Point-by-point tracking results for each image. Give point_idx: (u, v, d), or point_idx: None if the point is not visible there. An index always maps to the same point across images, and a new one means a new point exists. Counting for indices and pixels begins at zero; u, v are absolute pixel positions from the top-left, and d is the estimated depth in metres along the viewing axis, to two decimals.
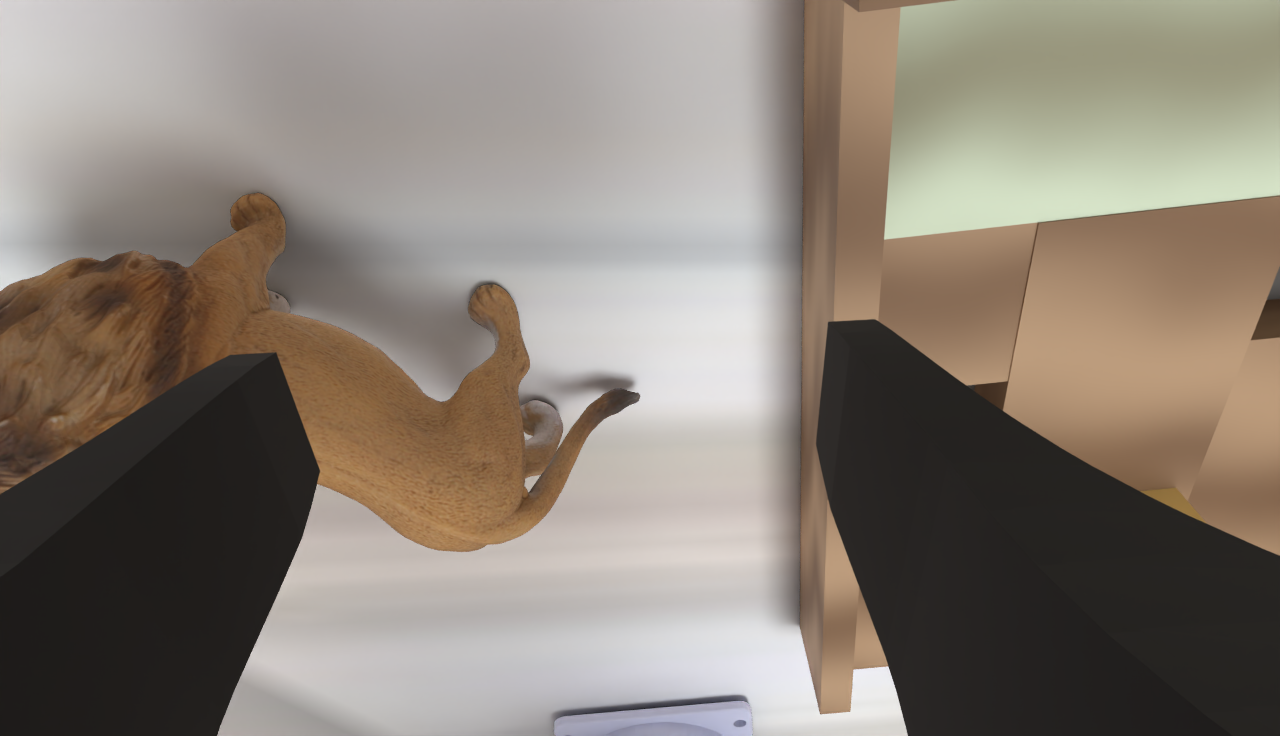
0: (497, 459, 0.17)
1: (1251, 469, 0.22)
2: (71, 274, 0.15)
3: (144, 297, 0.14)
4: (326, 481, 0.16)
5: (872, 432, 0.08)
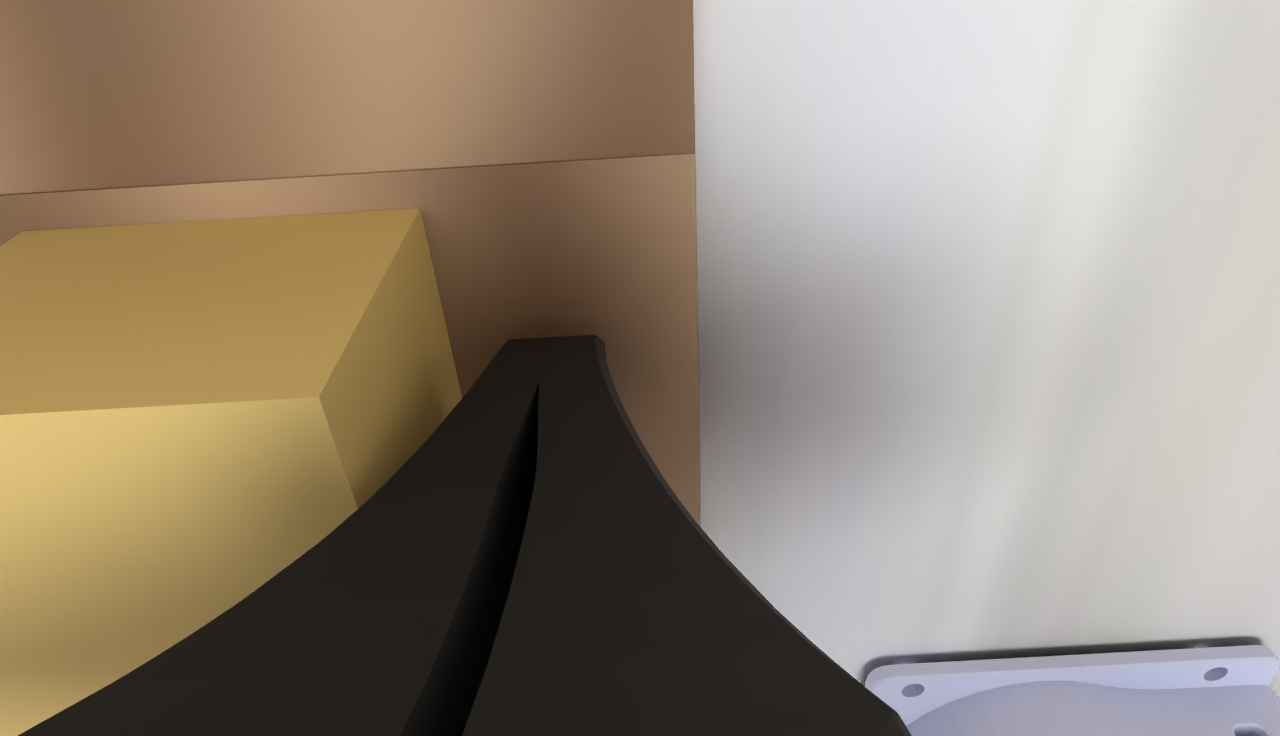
0: None
1: None
2: None
3: None
4: None
5: None
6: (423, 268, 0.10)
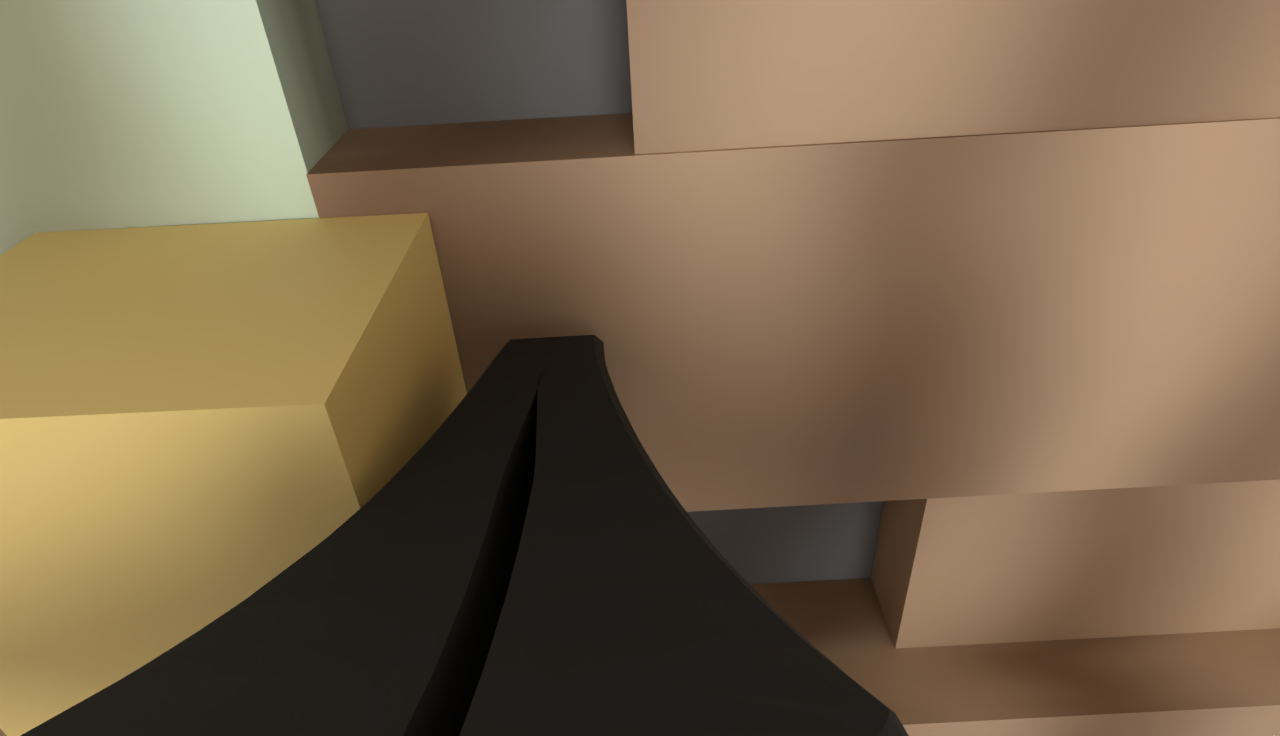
0: None
1: None
2: None
3: None
4: None
5: None
6: (430, 272, 0.10)
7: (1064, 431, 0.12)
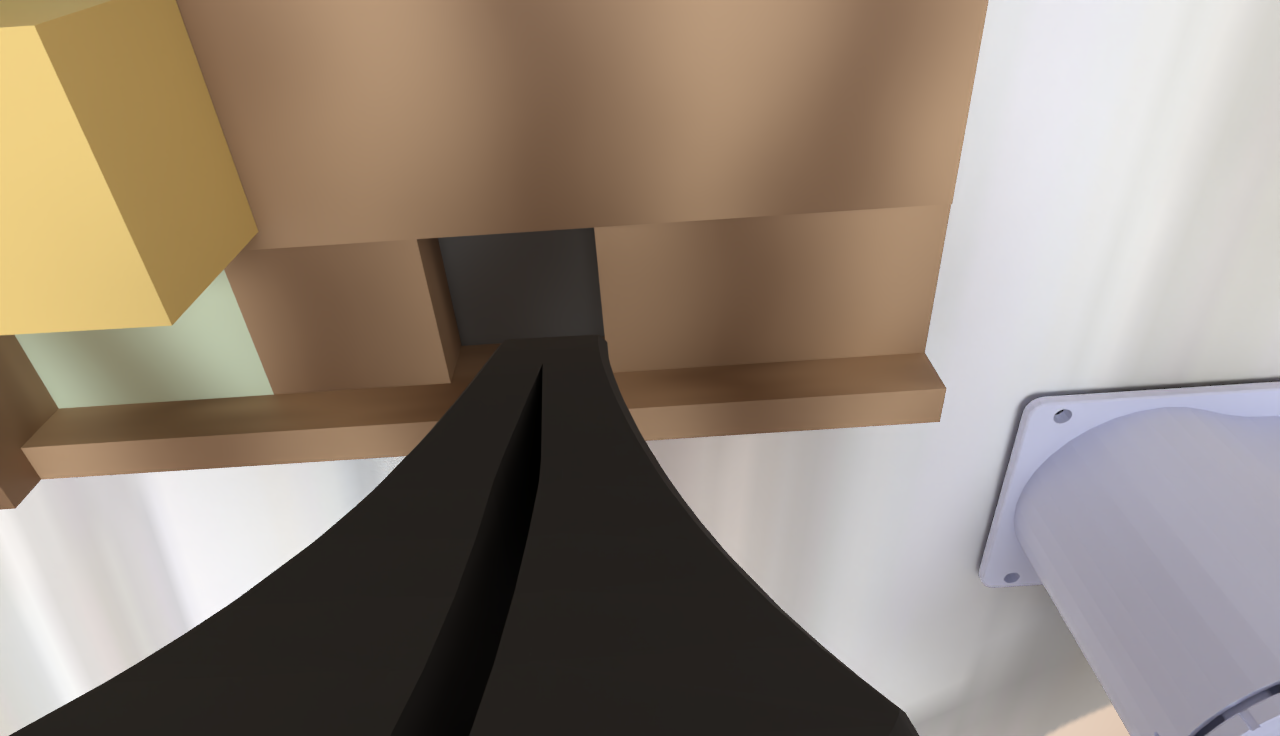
0: None
1: None
2: None
3: None
4: None
5: None
6: (171, 22, 0.14)
7: (676, 166, 0.17)
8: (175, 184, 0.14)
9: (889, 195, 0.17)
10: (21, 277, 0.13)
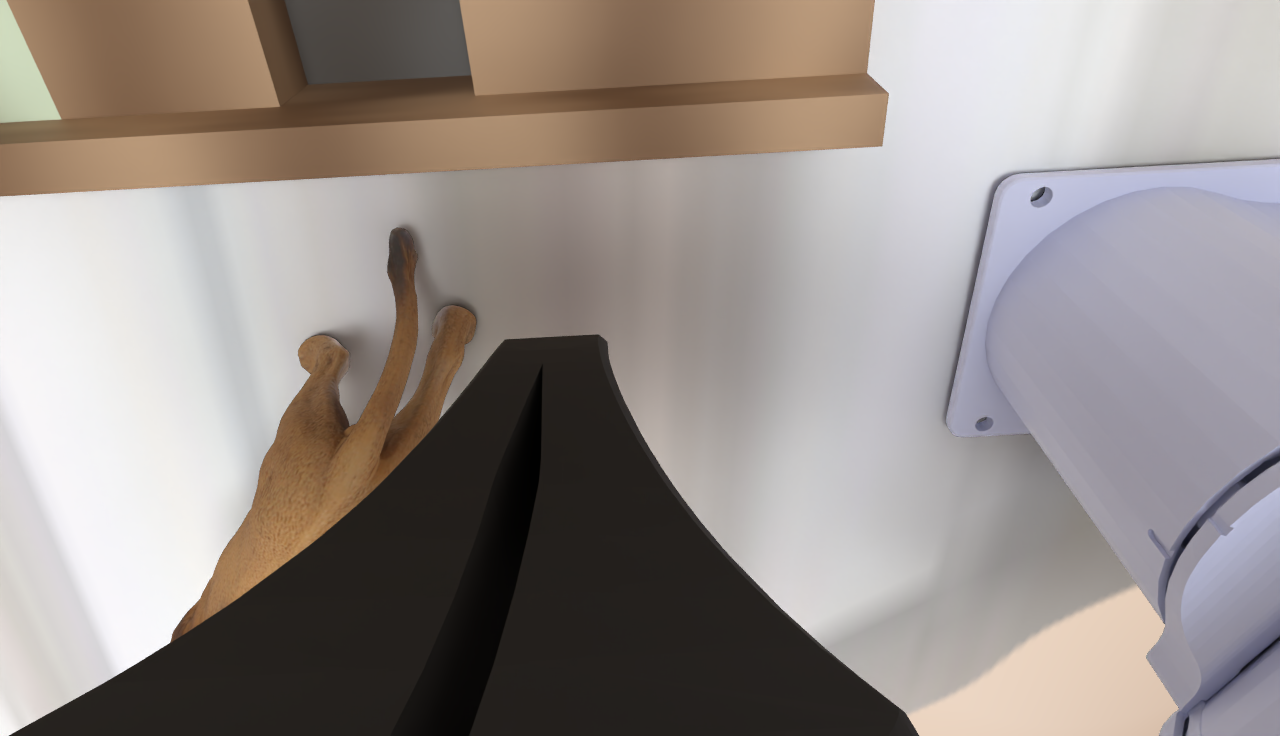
0: (275, 461, 0.17)
1: None
2: None
3: None
4: None
5: None
6: None
7: None
8: None
9: None
10: None
